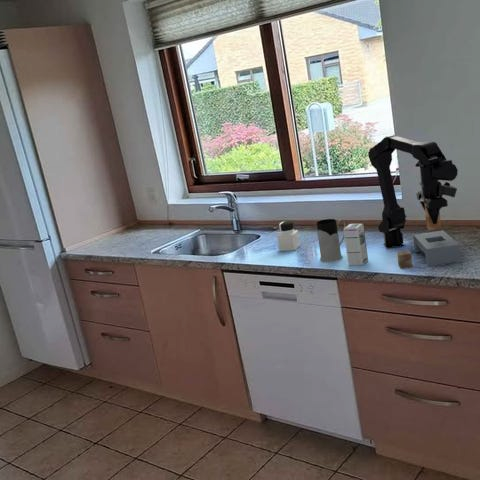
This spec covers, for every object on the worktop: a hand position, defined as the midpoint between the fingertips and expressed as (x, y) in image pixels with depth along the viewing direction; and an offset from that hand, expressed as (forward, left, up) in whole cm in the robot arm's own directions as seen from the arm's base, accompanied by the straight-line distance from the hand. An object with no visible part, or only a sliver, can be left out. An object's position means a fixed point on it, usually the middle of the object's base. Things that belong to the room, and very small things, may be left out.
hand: (433, 222), depth 200 cm
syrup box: (-27, +4, -12) cm, 30 cm away
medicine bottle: (-52, +37, -12) cm, 65 cm away
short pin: (-12, -7, -12) cm, 19 cm away
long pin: (0, 0, -2) cm, 2 cm away
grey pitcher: (-34, +16, -12) cm, 40 cm away
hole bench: (0, 0, -12) cm, 12 cm away
